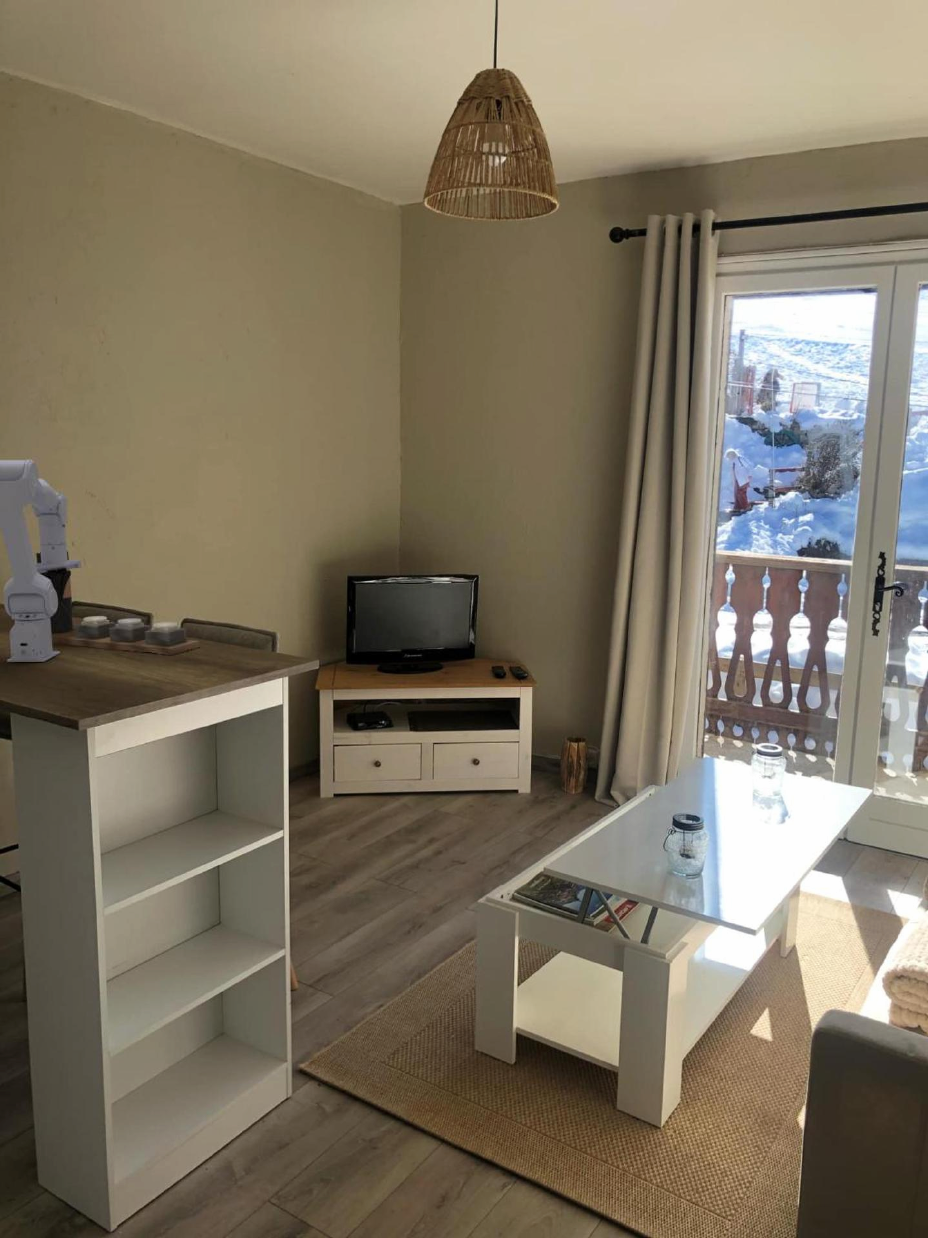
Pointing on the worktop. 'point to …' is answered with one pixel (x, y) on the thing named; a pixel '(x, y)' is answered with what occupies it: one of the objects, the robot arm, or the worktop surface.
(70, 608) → the travel mug
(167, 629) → the knob
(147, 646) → the knob backing plate
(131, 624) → the knob
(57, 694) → the worktop surface
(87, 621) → the knob
